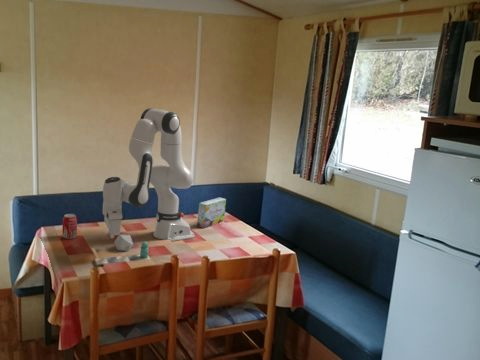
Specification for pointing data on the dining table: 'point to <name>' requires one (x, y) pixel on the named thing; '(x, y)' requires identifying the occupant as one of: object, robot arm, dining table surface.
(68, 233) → the soda can
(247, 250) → the dining table surface
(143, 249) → the pawn
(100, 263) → the track
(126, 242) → the die
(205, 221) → the snack box
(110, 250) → the dining table surface
